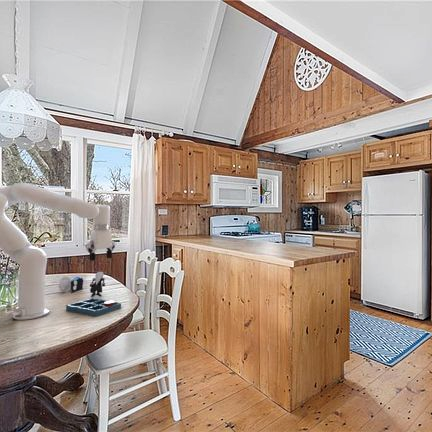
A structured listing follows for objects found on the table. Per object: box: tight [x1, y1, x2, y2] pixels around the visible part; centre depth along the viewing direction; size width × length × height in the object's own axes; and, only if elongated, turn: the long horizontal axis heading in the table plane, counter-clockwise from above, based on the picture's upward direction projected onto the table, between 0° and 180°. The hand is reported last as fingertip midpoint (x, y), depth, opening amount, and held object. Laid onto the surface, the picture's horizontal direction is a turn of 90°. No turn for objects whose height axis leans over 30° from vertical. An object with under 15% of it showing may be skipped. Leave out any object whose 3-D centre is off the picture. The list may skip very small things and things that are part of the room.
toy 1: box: [57, 276, 84, 294], centre depth 185 cm, size 9×11×15 cm
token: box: [104, 300, 116, 307], centre depth 152 cm, size 5×5×3 cm
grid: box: [65, 297, 122, 318], centre depth 152 cm, size 14×20×3 cm
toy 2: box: [89, 271, 107, 298], centre depth 181 cm, size 8×20×15 cm
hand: (100, 259), depth 164 cm, fingers open, 9 cm apart
